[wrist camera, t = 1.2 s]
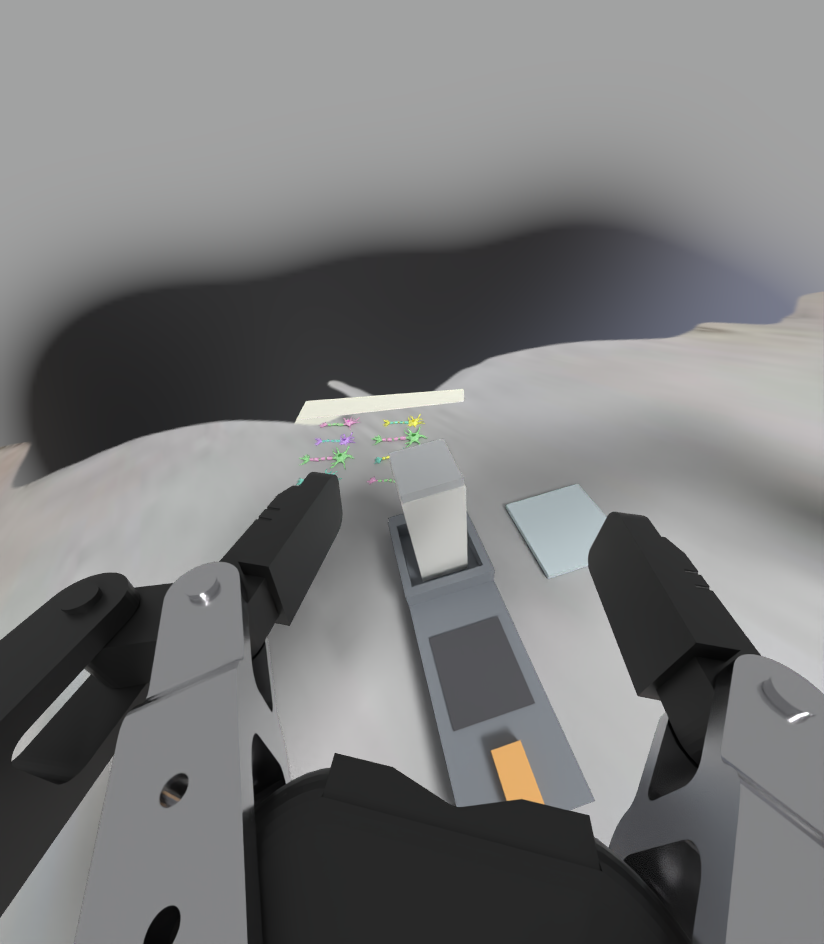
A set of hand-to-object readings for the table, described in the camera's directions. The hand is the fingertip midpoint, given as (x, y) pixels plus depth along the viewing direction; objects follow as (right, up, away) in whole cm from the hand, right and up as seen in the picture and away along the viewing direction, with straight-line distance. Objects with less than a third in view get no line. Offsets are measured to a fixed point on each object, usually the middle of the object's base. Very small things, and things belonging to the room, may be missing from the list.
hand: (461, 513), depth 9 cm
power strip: (+4, -15, +16) cm, 22 cm away
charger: (+1, -7, +21) cm, 22 cm away
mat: (+15, -5, +23) cm, 28 cm away
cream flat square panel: (-8, +4, +37) cm, 38 cm away
